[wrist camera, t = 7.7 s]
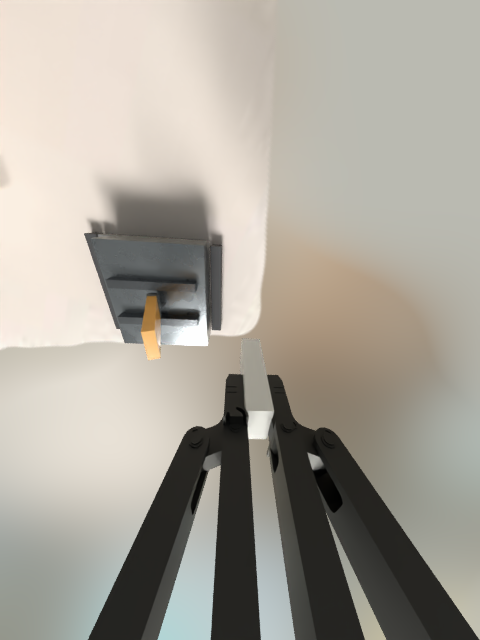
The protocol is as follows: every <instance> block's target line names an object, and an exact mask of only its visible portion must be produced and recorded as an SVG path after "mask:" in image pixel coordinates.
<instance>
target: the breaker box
mask: <svg viewBox="0 0 480 640" xmlns="http://www.w3.org/2000/svg"><path fill="white" fill-rule="evenodd" d="M91 241H92V244H93V247H94V251H95V254H96V257H97V260H98V263H99V266H100V269H101V272H102V275H103V278H104V281H105V284H106V287H107V290H108V293H109V296H110V299H111V302H112V305H113V309H114V312H115V315H116V318H117V321H118V324H119V327H120V330H121V333H122V336H123V339H124V342H125V343H140V344H144V342H143V338H142V335H141V328H142V322H143V316H144V310H145V304H146V298H147V297H146V294H148V293H157V295H158V300H159V306H160V311H161V344H168V345H198V346H207V345H208V341H209V336H210V331H211V292H210V244H209V241H208V240H193V239H178V238H163V237H148V236H133V235H118V234H117V235H110V236H103V237H95V238H91Z"/></svg>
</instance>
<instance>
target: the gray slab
mask: <svg viewBox="0 0 480 640" xmlns="http://www.w3.org/2000/svg"><path fill="white" fill-rule="evenodd" d="M84 235H85V238H86V241H87V243H88V246H89V249H90V252H91V255H92V258H93V261H94V264H95V267H96V270H97V273H98V276H99V279H100V282H101V285H102V288H103V291H104V293H105V296H106V299H107V302H108V305H109V308H110V311H111V314H112V317H113V320H114V323H115V326H116V329H120V327H119V324H118V321H117V318H116V315H115V312H114V309H113V305H112V302H111V299H110V296H109V293H108V290H107V287H106V284H105V281H104V278H103V275H102V272H101V269H100V266H99V263H98V260H97V257H96V254H95V251H94V247H93V244H92V241H91V238H95V237H103V236H110V235H116V234H103V233H85V234H84Z"/></svg>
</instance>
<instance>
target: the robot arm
mask: <svg viewBox="0 0 480 640" xmlns="http://www.w3.org/2000/svg"><path fill="white" fill-rule="evenodd" d="M240 372H241V374H239V375H237V374H229V376H228V377H227V379H226V389H225V406H224V416H223V418H222V420H221V421H220V422H219V423H218V424H217V425H215V426H213V427H210V428H207V429H205V428H203V427H199V426H196V427H193V428H191V429H190V430H188V431H187V432H186V434H185V435H184V437H183V439H182V441H181V443H180V445H179V448H178V450H177V452H176V454H175V456H174V458H173V460H172V462H171V465H170V467H169V469H168V471H167V473H166V475H165V477H164V479H163V482H162V484H161V486H160V488H159V490H158V492H157V494H156V496H155V499H154V501H153V503H152V505H151V507H150V509H149V511H148V513H147V516H146V518H145V520H144V522H143V524H142V526H141V528H140V530H139V532H138V535H137V537H136V539H135V541H134V543H133V545H132V547H131V550H130V552H129V554H128V556H127V558H126V560H125V562H124V564H123V566H122V569H121V571H120V573H119V575H118V577H117V579H116V581H115V583H114V585H113V588H112V590H111V592H110V594H109V596H108V599H107V601H106V602H105V605H104V607H103V609H102V611H101V613H100V615H99V617H98V620H97V622H96V624H95V626H94V628H93V630H92V632H91V634H90V636H89V639H88V640H157V639H158V636H159V633H160V629H161V626H162V623H163V620H164V616H165V613H166V609H167V606H168V603H169V600H170V597H171V593H172V590H173V586H174V583H175V580H176V577H177V573H178V570H179V567H180V564H181V560H182V557H183V554H184V550H185V547H186V544H187V541H188V537H189V534H190V531H191V527H192V524H193V521H194V518H195V514H196V511H197V508H198V504H199V501H200V498H201V495H202V491H203V488H204V485H205V481H206V478H207V474H208V471H209V470H210V469H212V468H215V467H217V466H219V465H221V472H220V490H219V508H218V525H217V542H216V559H215V578H214V593H213V611H212V630H211V640H261V636H260V620H259V603H258V588H257V571H256V555H255V539H254V523H253V507H252V491H251V474H250V460H249V459H250V458H249V441H248V439H267V437H268V436H269V447H268V451H267V457H270V464H271V471H272V478H273V485H274V492H275V499H276V506H277V513H278V520H279V527H280V534H281V541H282V548H283V555H284V562H285V569H286V577H287V584H288V591H289V598H290V604H291V611H292V619H293V626H294V631H295V632H294V633H295V640H365V639H364V636H363V632H362V629H361V626H360V623H359V619H358V616H357V613H356V609H355V607H354V603H353V600H352V597H351V593H350V590H349V587H348V583H347V580H346V577H345V574H344V570H343V567H342V564H341V561H340V558H339V555H338V551H337V548H336V544H335V541H334V538H333V535H332V531H331V528H330V525H329V522H328V519H327V515H328V517H329V519H330V521H331V524H332V526H333V527H334V530H335V532H336V534H337V536H338V538H339V540H340V542H341V544H342V546H343V549H344V551H345V553H346V555H347V557H348V559H349V561H350V564H351V566H352V568H353V570H354V572H355V574H356V576H357V578H358V580H359V582H360V585H361V587H362V589H363V591H364V593H365V595H366V597H367V599H368V601H369V604H370V606H371V608H372V610H373V612H374V614H375V616H376V618H377V620H378V622H379V625H380V627H381V629H382V631H383V633H384V635H385V637H386V639H387V640H479V639H478V637H477V636H476V634H475V633H474V631H473V630H472V628H471V627H470V626H469V624H468V623H467V621H466V620H465V618H464V617H463V616H462V614H461V613H460V611H459V610H458V608H457V607H456V605H455V604H454V603H453V601H452V600H451V598H450V597H449V595H448V594H447V592H446V591H445V590H444V588H443V587H442V585H441V584H440V582H439V581H438V580H437V578H436V577H435V575H434V574H433V573H432V571H431V570H430V568H429V567H428V565H427V564H426V562H425V561H424V560H423V558H422V557H421V555H420V554H419V552H418V551H417V549H416V548H415V547H414V545H413V544H412V542H411V541H410V539H409V538H408V537H407V535H406V534H405V532H404V531H403V529H402V528H401V526H400V525H399V523H398V522H397V521H396V519H395V518H394V516H393V515H392V514H391V512H390V510H389V509H388V508H387V506H386V505H385V503H384V502H383V500H382V499H381V497H380V496H379V495H378V493H377V492H376V491H375V489H374V487H373V486H372V485H371V483H370V482H369V480H368V479H367V477H366V476H365V474H364V473H363V472H362V470H361V469H360V467H359V466H358V464H357V463H356V461H355V460H354V459H353V457H352V456H351V454H350V453H349V451H348V450H347V448H346V447H345V446H344V444H343V443H342V441H341V440H340V438H339V437H338V436H337V435H336V434H335V433H334V432H333V431H331V430H330V429H327V428H319V429H317V430H316V431H315V430H312V429H309V428H306V427H304V426H302V425H300V424H299V423H298V422H297V421H296V420H295V419H294V417H293V415H292V413H291V410H290V406H289V403H288V399H287V396H286V392H285V389H284V385H283V382H282V380H281V379H280V377H279V376H278V375H267V374H266V369H265V364H264V359H263V354H262V349H261V344H260V339H242V346H241V358H240ZM325 511H326V512H325ZM326 513H327V515H326Z"/></svg>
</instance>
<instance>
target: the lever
mask: <svg viewBox="0 0 480 640" xmlns="http://www.w3.org/2000/svg"><path fill="white" fill-rule="evenodd" d="M146 297H147V298H146V304H145V310H144V316H143V322H142V328H141V335H142V338H143V342H144V346H145V350H146V354H147V357H148V360H153V359H159V358H161V347H160V346H161V311H160V306H159V300H158V295H157V293H148V294H146Z"/></svg>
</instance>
